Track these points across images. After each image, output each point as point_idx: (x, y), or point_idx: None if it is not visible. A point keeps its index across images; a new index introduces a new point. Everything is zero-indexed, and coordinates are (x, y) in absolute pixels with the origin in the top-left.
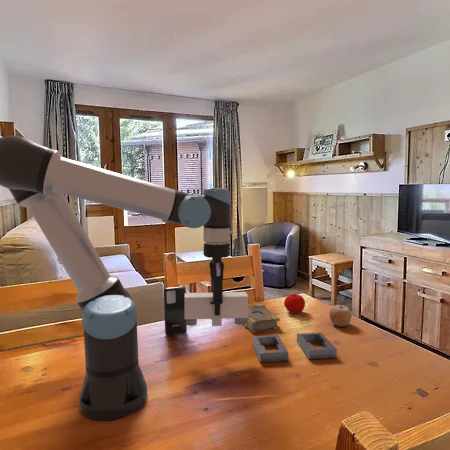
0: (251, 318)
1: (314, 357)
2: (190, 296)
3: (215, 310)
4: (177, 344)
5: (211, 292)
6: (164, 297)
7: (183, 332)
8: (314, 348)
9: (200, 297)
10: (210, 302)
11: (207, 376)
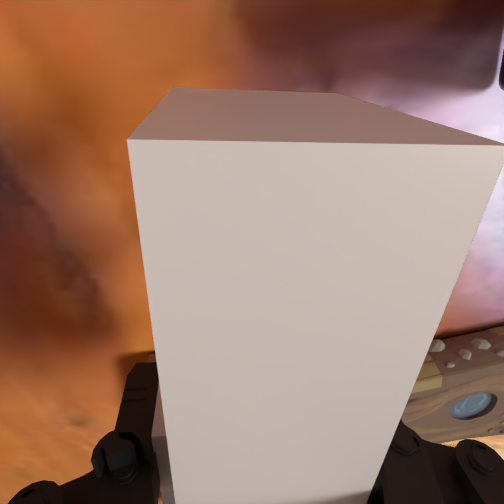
0: (436, 385)
1: None
2: (215, 269)
3: (121, 406)
4: (387, 30)
5: (407, 472)
6: None
7: (502, 70)
8: (172, 492)
9: (164, 406)
10: (93, 455)
11: (42, 173)
